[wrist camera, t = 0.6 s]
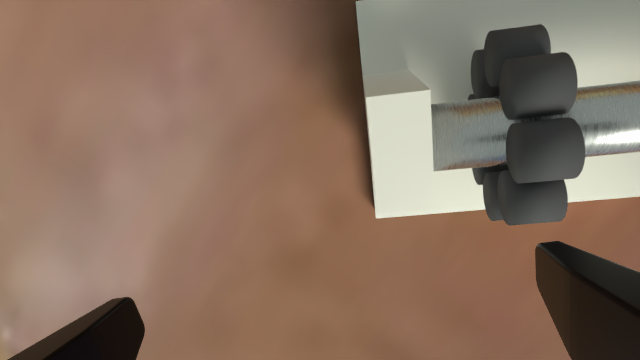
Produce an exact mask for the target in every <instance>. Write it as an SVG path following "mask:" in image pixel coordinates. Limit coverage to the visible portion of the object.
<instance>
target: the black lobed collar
mask: <svg viewBox="0 0 640 360" xmlns="http://www.w3.org/2000/svg"><path fill="white" fill-rule="evenodd" d="M471 84H472V89H473V93H474V94H470V95H469V97H468V100H473V99H482V98H491V97H500V101H501V106H502V110H503V112H504V115H505V116H506V118H507V119H509V120H516V119H526V118H535V117H544V116H553V115H563V114H566V113H568V112H569V111H570V110H571V108H572V107H573V105H574V102H575V99H576V94H577V85H578V81H577V71H576V67H575V64H574V61H573V59H572V58H571V56H570V55H569V54H568V53H566V52H559V53H551V44H550V38H549V34H548V31H547V29H546V28H545V27H544V26H543V25H541V24H538V25H531V26H523V27H516V28H508V29H501V30H493V31H489V33H488V34H487V36H486V40H485V45H484V49H481V50H475V51H474V53H473V56H472V60H471ZM506 158H507V164H508V165H498V166H487V167H477V168H472V171H473V175H474V179H475V181H476V183H477V184H478V185H483V198H484V204H485V209H486V212H487V215H488V217H489V218H490V220H492V221H497V220H504V221H505V222H506V223H507V224H508V225H520V224H533V223H546V222H558V221H561V220H563V218H564V217H565V215H566V212H567V205H568V196H567V189H566V185H565V181H564V179H574V178H577V177H578V176H579V175H580V173H581V172H582V169H583V166H584V162H585V141H584V137H583V133H582V131H581V128H580V126H579V125H578V123H577V122H576V121H575V120H574V119H573V118H570V117H566V118H557V119H548V120H538V121H529V122H520V123H513V124H511V125H510V127H509V129H508V132H507V137H506Z"/></svg>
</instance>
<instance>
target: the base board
mask: <svg viewBox="0 0 640 360" xmlns="http://www.w3.org/2000/svg"><path fill="white" fill-rule="evenodd" d="M356 12H357V23H358V33H359V44H360V55H361V65H362V76H363V86H364V97H365V108H366V118H367V129H368V139H369V150H370V161H371V171H372V182H373V192H374V203H375V213H376V218H387V217H399V216H411V215H423V214H435V213H447V212H459V211H471V210H483V209H485V204H484V198H483V185H478V184H477V183H476V181H475V179H474V175H473V171H472V168H467V169H456V170H446V171H435V172H434V168H433V142H432V116H431V104H438V103H447V102H456V101H465V100H468V97H469V95H470V94H474V93H473V89H472V84H471V60H472V56H473V53H474V51H475V50H481V49H484V45H485V40H486V36H487V34H488V33H489V31H493V30H501V29H508V28H516V27H523V26H531V25H538V24H541V25H543V26H544V27H545V28H546V29H547V31H548V34H549V38H550V44H551V53H559V52H566V53H568V54H569V55H570V56H571V58H572V59H573V61H574V64H575V67H576V71H577V81H578V85H577V88H578V87H587V86H596V85H604V84H613V83H622V82H631V81H639V80H640V0H361V1H356ZM564 181H565V185H566V189H567V196H568V202H578V201H590V200H602V199H614V198H626V197H638V196H640V152H634V153H623V154H613V155H603V156H592V157H585V162H584V166H583V169H582V172H581V173H580V175H579V176H578V177H577V178H574V179H564Z"/></svg>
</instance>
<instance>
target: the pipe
mask: <svg viewBox="0 0 640 360" xmlns="http://www.w3.org/2000/svg"><path fill="white" fill-rule="evenodd" d="M431 116H432V142H433V168H434V172H435V171H446V170H456V169H467V168H477V167H487V166H498V165H508V164H507V158H506V137H507V132H508V129H509V127H510V125H511V124H513V123H520V122H529V121H538V120H548V119H557V118H566V117H570V118H573V119H574V120H575V121H576V122H577V123H578V125H579V126H580V128H581V131H582V133H583V137H584V141H585V157H592V156H603V155H613V154H623V153H634V152H640V80H639V81H631V82H622V83H613V84H604V85H596V86H587V87H578V88H577V94H576V99H575V102H574V105H573V107H572V108H571V110H570V111H569V112H568V113H566V114H563V115H553V116H544V117H535V118H526V119H516V120H509V119H507V118H506V116H505V115H504V112H503V110H502V106H501V101H500V97H491V98H482V99H473V100H465V101H456V102H447V103H438V104H431Z"/></svg>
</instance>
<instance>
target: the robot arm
mask: <svg viewBox="0 0 640 360" xmlns="http://www.w3.org/2000/svg"><path fill="white" fill-rule="evenodd" d="M535 259H536V281H537V286H538V289H539V291H540V293H541V296H542V298H543V300H544V302H545V304H546V306H547V309H548V311H549V313H550V315H551V317H552V319H553V322H554V324H555V326H556V328H557V330H558V332H559V335H560V337H561V339H562V341H563V343H564V345H565V347H566V350H567V352H568V354H569V356H570V357H571V359H572V360H640V272H638V271H635V270H632V269H630V268H627V267H625V266H622V265H619V264H617V263H614V262H612V261H609V260H606V259H604V258H601V257H599V256H596V255H593V254H591V253H588V252H586V251H583V250H580V249H578V248H575V247H573V246H570V245H567V244H565V243H562V242H559V241H553V242H546V243H540V244H538V245H537V246H536V249H535ZM144 333H145V327H144V323H143V321H142V319H141V316H140V314H139V312H138V309H137V307H136V305H135V302H134V301H133V300H132V299H131V298H129V297H123V298H115V299H112V300H110V301H108V302H106V303H105V304H103V305H101V306H99V307H98V308H96V309H94V310H92V311H91V312H89V313H87V314H86V315H84V316H82V317H80V318H79V319H77V320H75V321H73V322H72V323H70V324H68V325H67V326H65V327H63V328H61V329H60V330H58V331H56V332H54V333H53V334H51V335H49V336H48V337H46V338H44V339H42V340H41V341H39V342H37V343H35V344H34V345H32V346H30V347H29V348H27V349H25V350H23V351H22V352H20V353H18V354H16V355H15V356H13V357H11V358H10V359H8V360H136V358H137V355H138V352H139V349H140V346H141V343H142V340H143V337H144Z"/></svg>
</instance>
